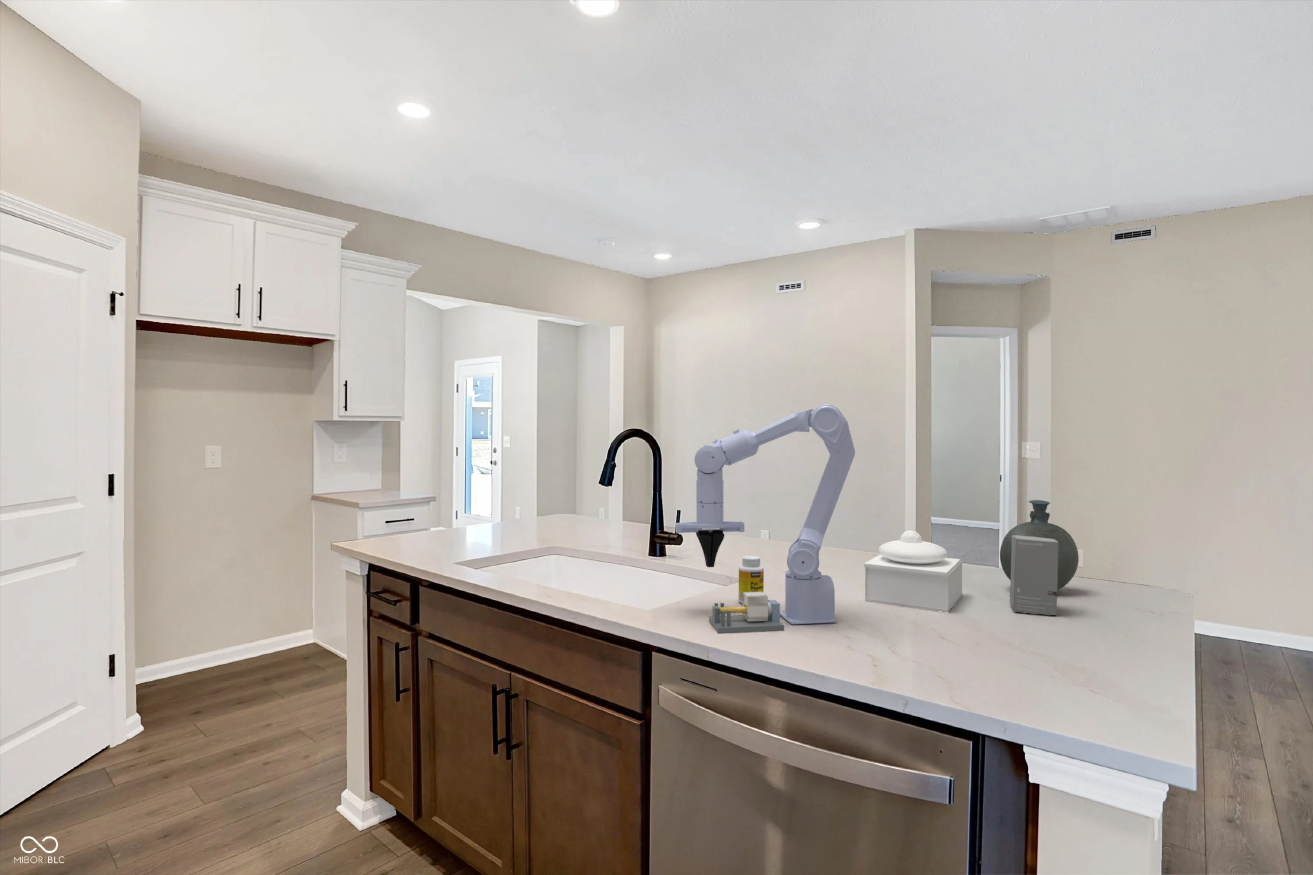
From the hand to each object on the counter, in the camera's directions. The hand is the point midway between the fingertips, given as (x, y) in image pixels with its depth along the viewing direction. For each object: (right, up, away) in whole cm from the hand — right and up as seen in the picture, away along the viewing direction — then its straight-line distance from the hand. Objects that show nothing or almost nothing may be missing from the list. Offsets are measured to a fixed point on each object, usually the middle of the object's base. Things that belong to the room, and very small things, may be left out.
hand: (709, 566), depth 138 cm
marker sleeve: (+8, -9, -9) cm, 15 cm away
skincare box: (+69, -10, +2) cm, 70 cm away
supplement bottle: (+10, -10, +8) cm, 16 cm away
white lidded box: (+48, -10, +12) cm, 50 cm away
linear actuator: (+6, -10, -9) cm, 15 cm away
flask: (+80, -10, +18) cm, 83 cm away
